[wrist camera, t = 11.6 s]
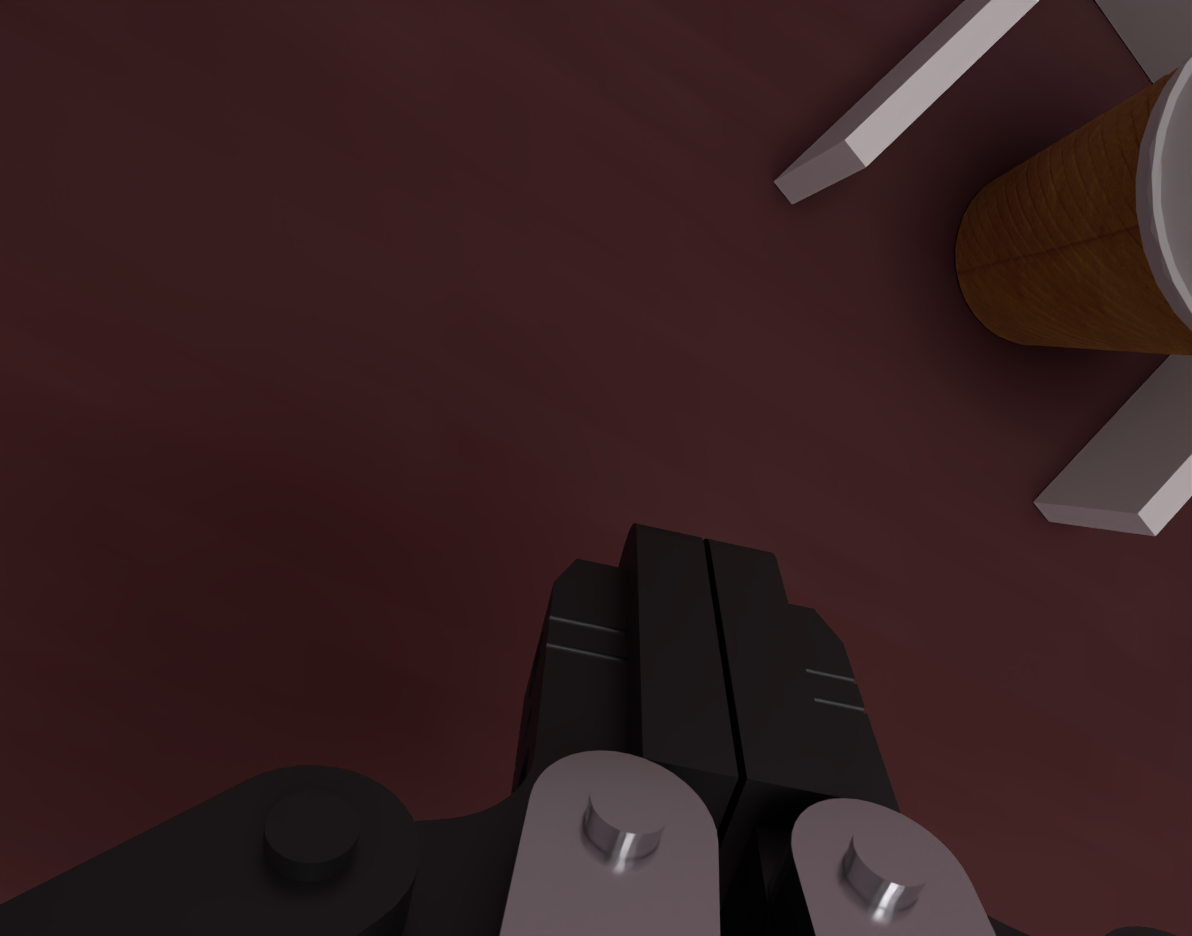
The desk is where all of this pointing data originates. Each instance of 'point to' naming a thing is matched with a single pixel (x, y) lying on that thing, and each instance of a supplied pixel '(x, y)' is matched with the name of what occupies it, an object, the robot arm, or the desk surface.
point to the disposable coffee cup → (1092, 233)
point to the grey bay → (1177, 387)
